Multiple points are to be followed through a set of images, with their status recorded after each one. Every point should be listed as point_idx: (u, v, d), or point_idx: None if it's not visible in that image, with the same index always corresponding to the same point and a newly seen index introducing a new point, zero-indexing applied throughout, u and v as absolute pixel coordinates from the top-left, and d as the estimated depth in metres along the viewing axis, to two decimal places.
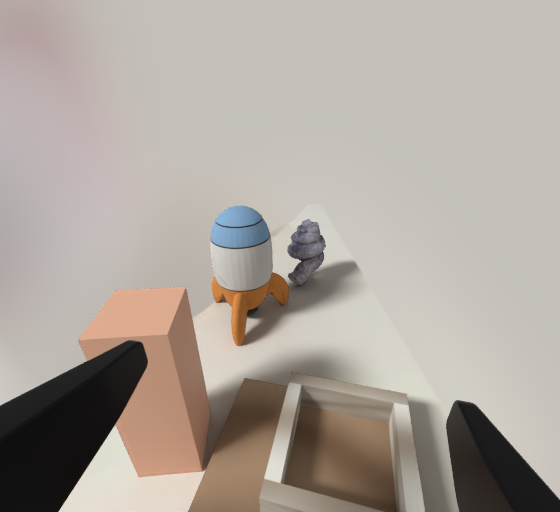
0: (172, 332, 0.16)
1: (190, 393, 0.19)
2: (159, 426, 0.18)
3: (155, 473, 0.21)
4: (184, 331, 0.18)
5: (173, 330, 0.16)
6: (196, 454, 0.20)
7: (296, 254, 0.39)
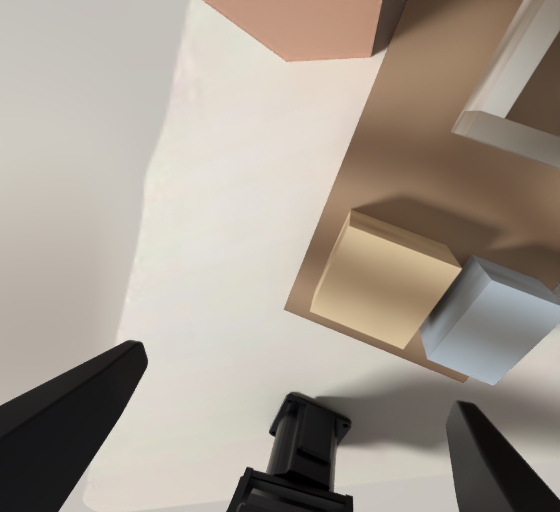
0: None
1: None
2: (321, 34, 0.11)
3: (308, 59, 0.16)
4: None
5: None
6: (370, 49, 0.13)
7: None
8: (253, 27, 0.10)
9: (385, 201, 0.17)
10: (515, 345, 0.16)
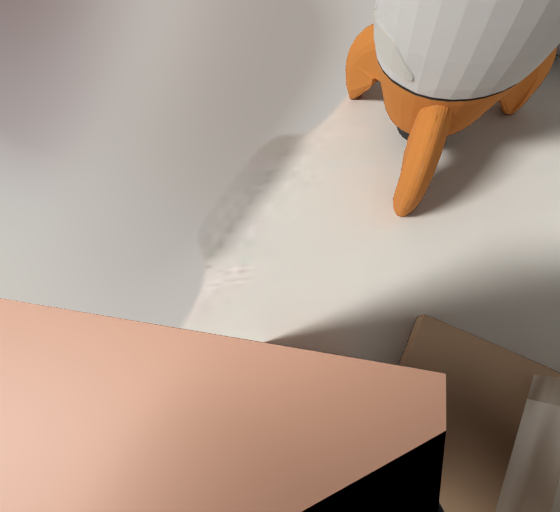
0: None
1: (354, 506, 0.07)
2: None
3: None
4: None
5: None
6: None
7: None
8: None
9: None
10: None
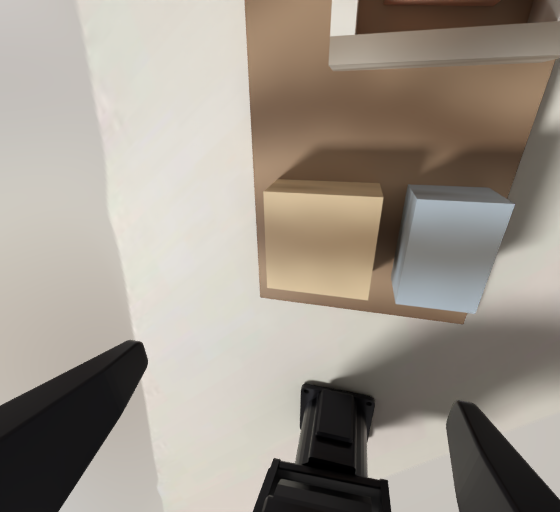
0: None
1: None
2: None
3: (413, 3, 0.13)
4: None
5: None
6: None
7: None
8: None
9: (304, 160, 0.17)
10: (475, 262, 0.14)
